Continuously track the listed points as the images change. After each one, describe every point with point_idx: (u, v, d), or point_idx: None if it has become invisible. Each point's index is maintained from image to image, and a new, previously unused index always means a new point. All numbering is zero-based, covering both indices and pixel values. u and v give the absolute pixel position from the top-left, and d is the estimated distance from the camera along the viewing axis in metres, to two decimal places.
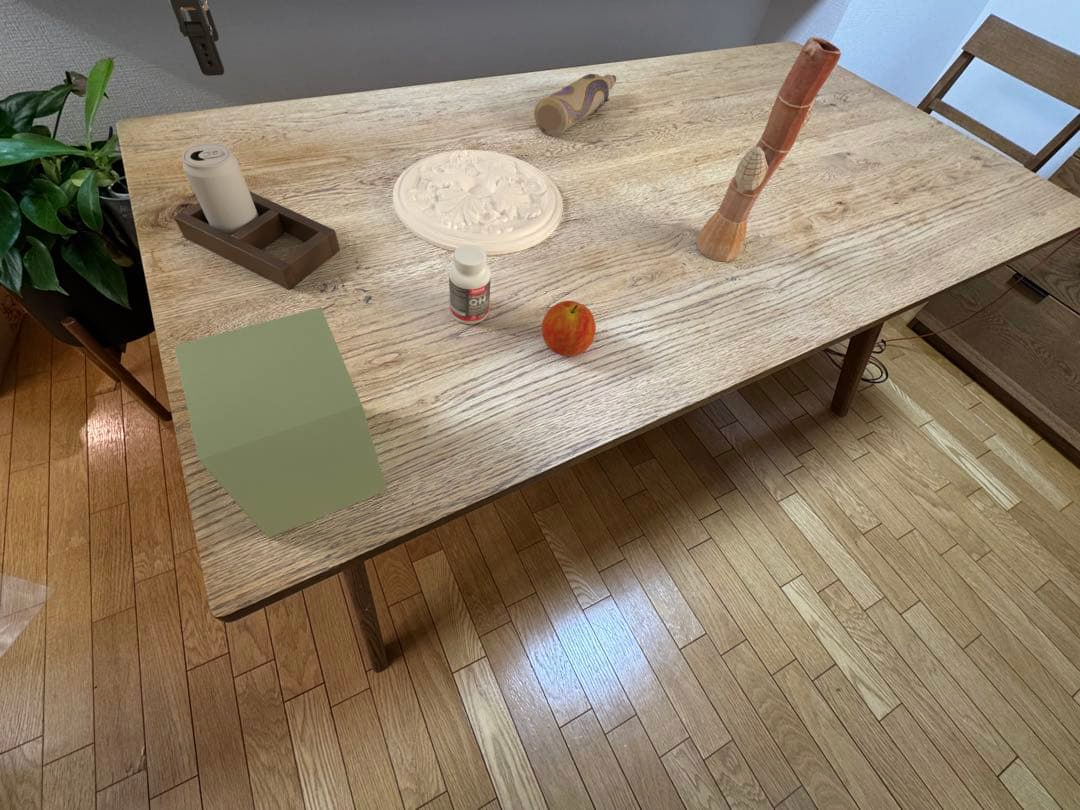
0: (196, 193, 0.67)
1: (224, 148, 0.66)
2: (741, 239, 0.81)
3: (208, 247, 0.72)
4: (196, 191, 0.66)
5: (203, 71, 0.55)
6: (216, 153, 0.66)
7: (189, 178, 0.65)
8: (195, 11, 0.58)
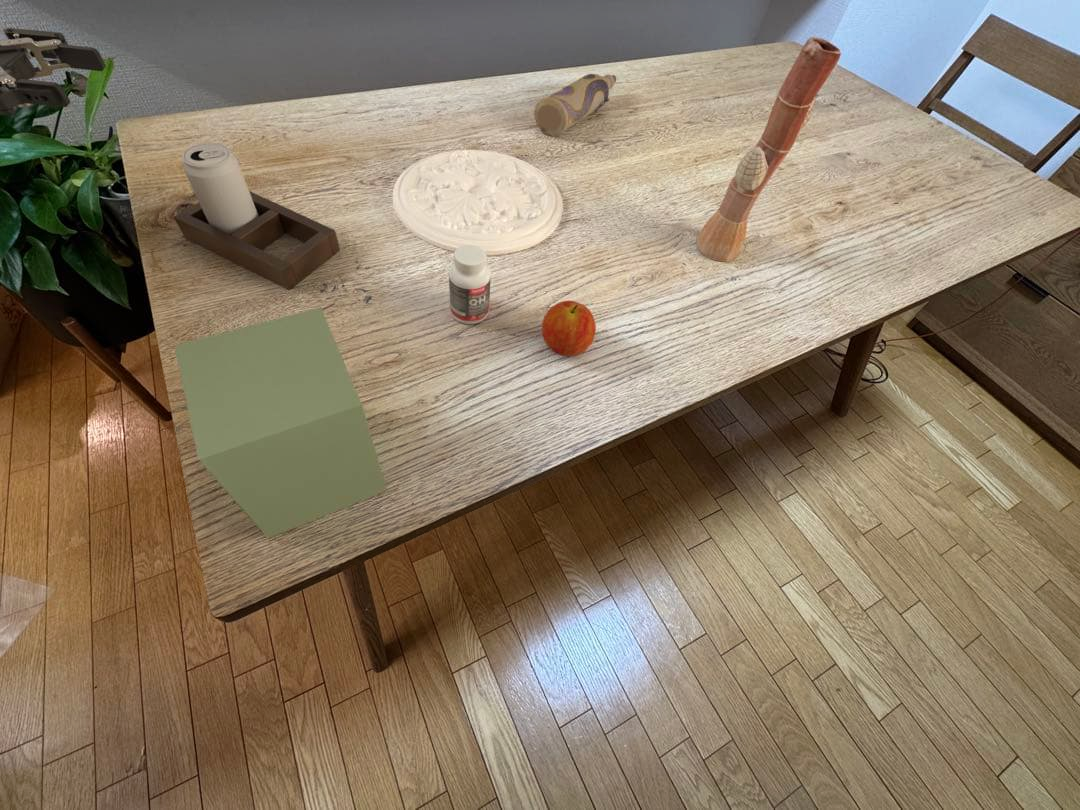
0: (196, 193, 0.67)
1: (224, 148, 0.66)
2: (741, 239, 0.81)
3: (208, 247, 0.72)
4: (196, 191, 0.66)
5: None
6: (216, 153, 0.66)
7: (189, 178, 0.65)
8: None
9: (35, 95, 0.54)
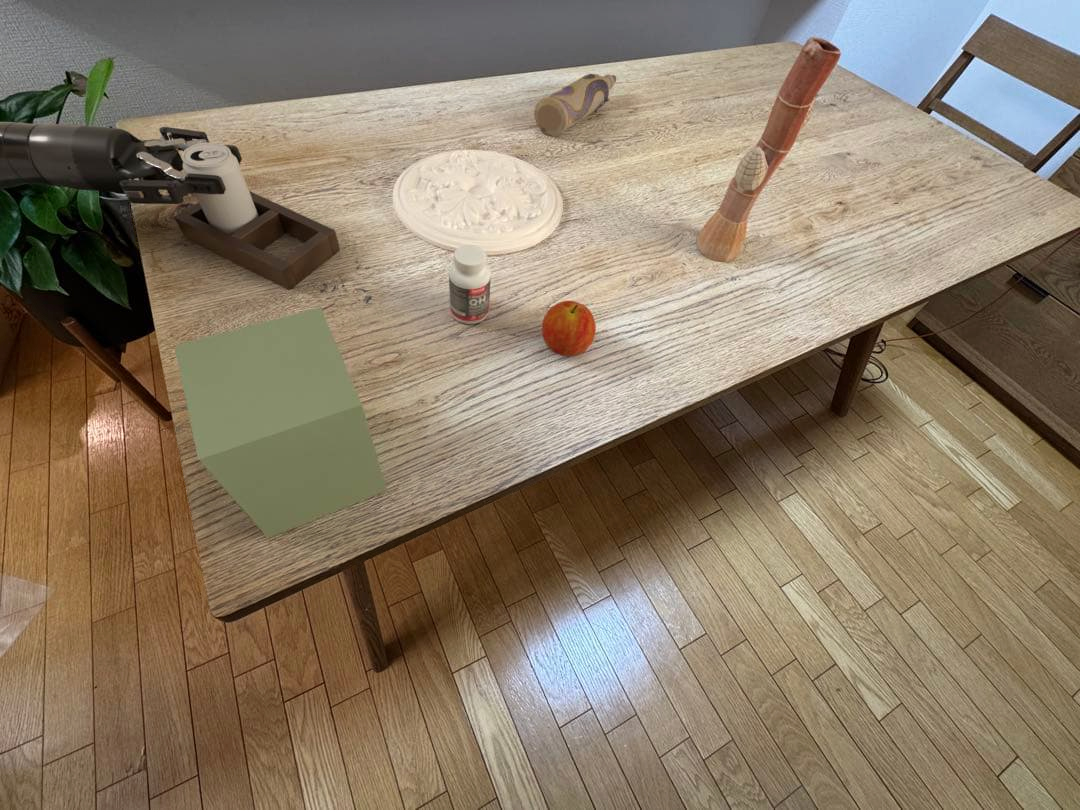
0: (196, 193, 0.67)
1: (224, 148, 0.66)
2: (741, 239, 0.81)
3: (208, 247, 0.72)
4: None
5: (234, 146, 0.68)
6: (216, 153, 0.66)
7: None
8: None
9: (201, 186, 0.64)
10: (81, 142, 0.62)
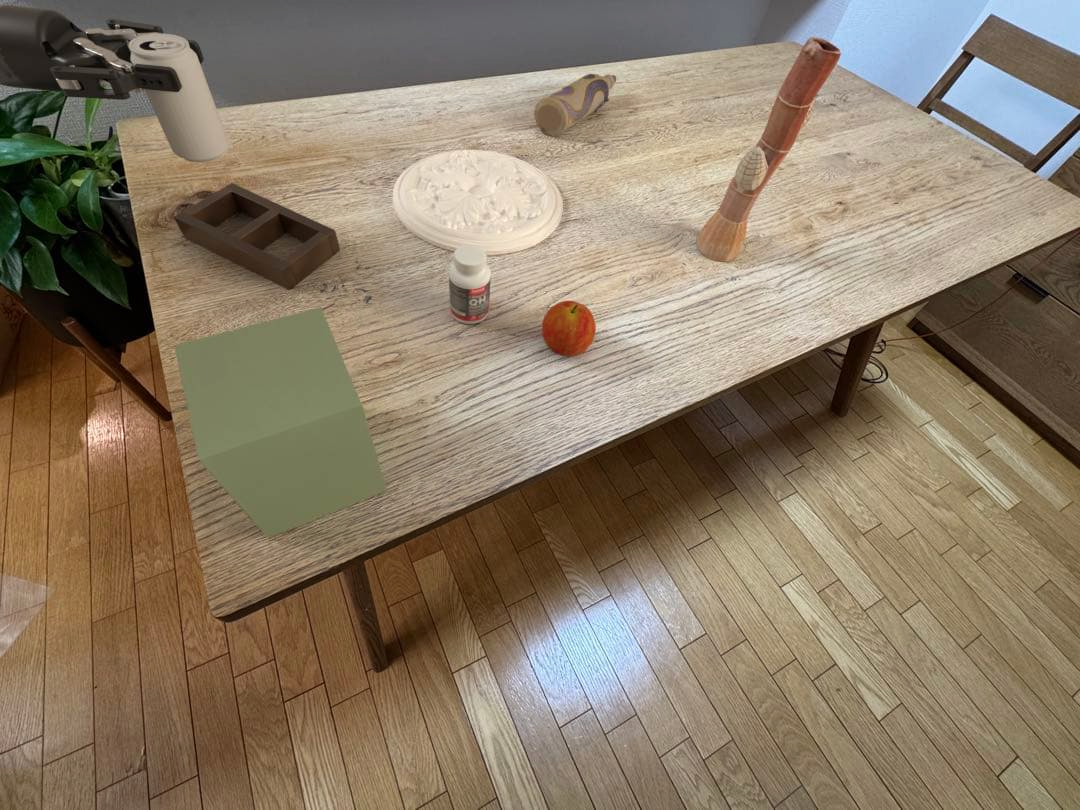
0: (148, 93, 0.57)
1: (181, 40, 0.56)
2: (741, 239, 0.81)
3: (208, 247, 0.72)
4: (148, 90, 0.56)
5: None
6: (171, 44, 0.56)
7: None
8: None
9: (151, 79, 0.54)
10: (5, 20, 0.52)
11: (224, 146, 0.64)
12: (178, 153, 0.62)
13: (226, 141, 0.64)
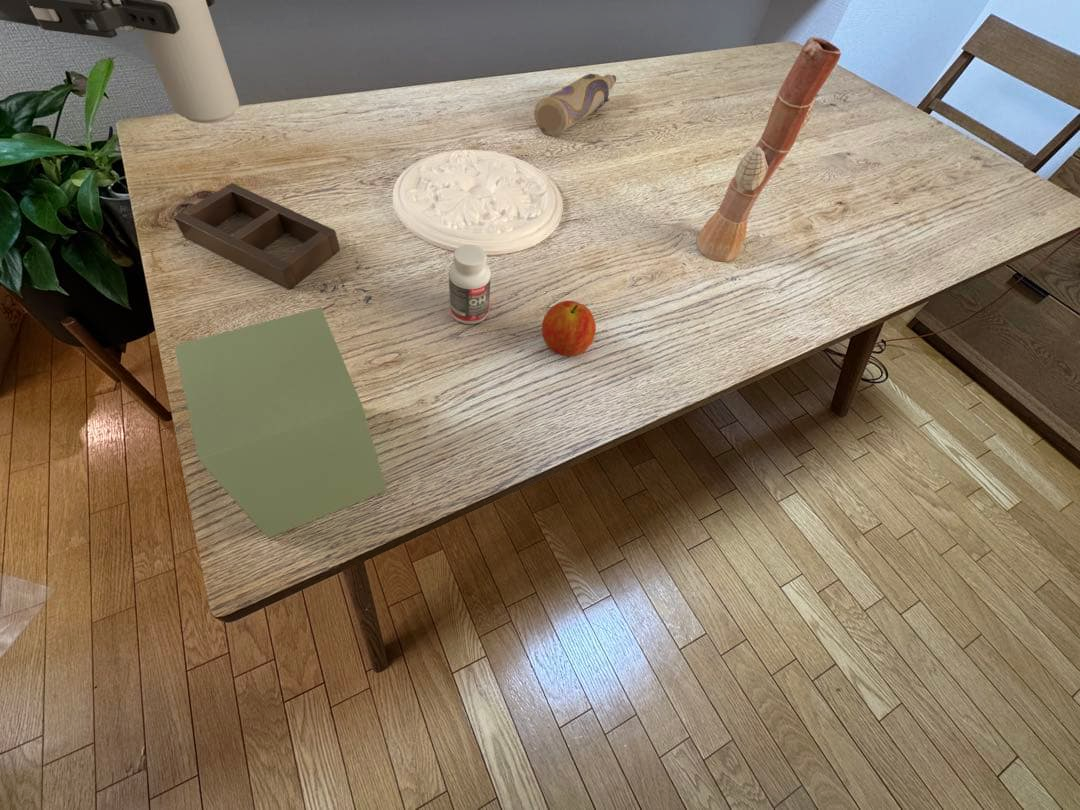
0: (142, 34, 0.48)
1: None
2: (741, 239, 0.81)
3: (208, 247, 0.72)
4: (142, 30, 0.48)
5: None
6: None
7: None
8: None
9: (141, 16, 0.45)
10: None
11: (232, 106, 0.55)
12: (177, 110, 0.53)
13: (235, 101, 0.55)
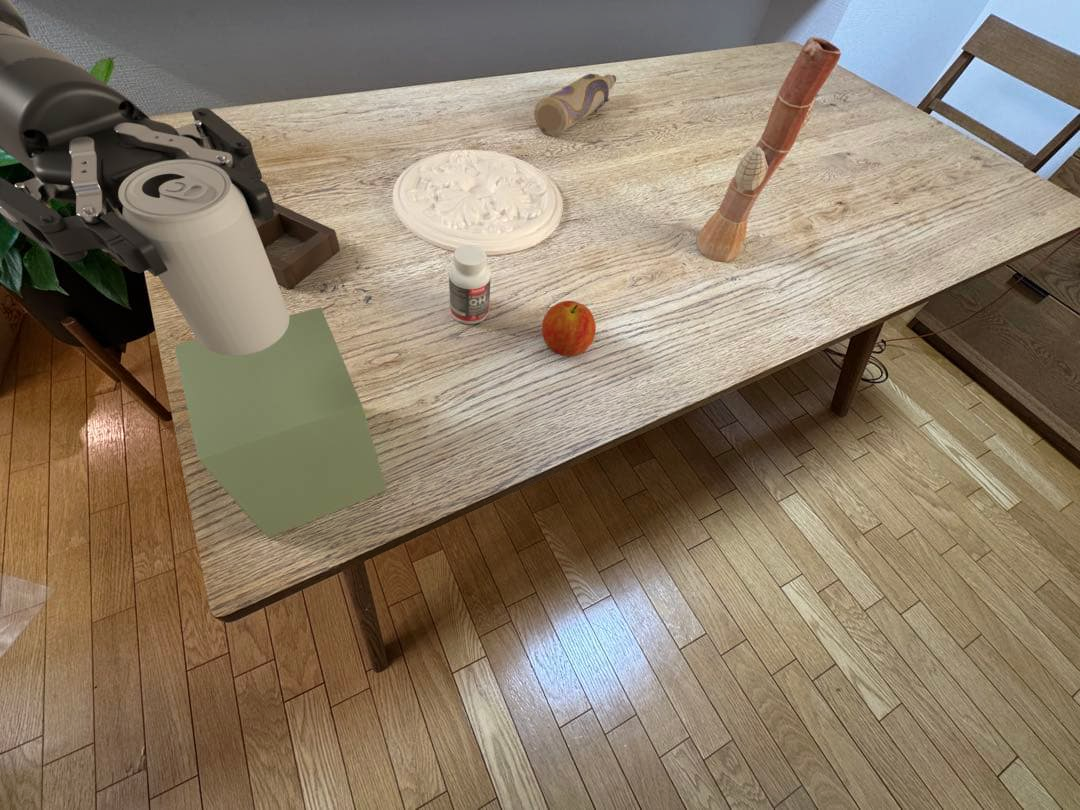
0: None
1: (222, 188, 0.30)
2: (741, 239, 0.81)
3: None
4: None
5: None
6: (197, 192, 0.29)
7: None
8: None
9: (111, 248, 0.28)
10: (3, 83, 0.31)
11: (261, 343, 0.37)
12: None
13: (271, 335, 0.37)
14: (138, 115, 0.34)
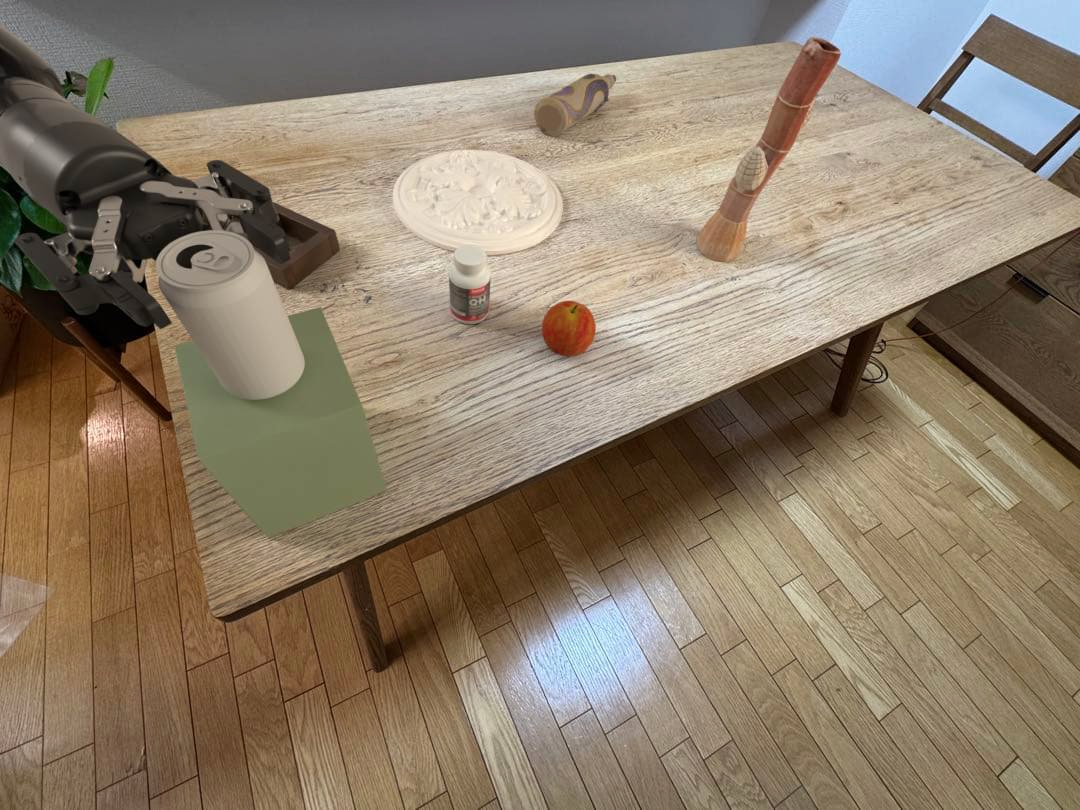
0: None
1: (246, 258, 0.33)
2: (741, 239, 0.81)
3: None
4: None
5: None
6: (224, 262, 0.33)
7: None
8: None
9: (120, 304, 0.31)
10: (41, 147, 0.33)
11: (279, 388, 0.40)
12: None
13: (288, 381, 0.40)
14: (161, 171, 0.37)
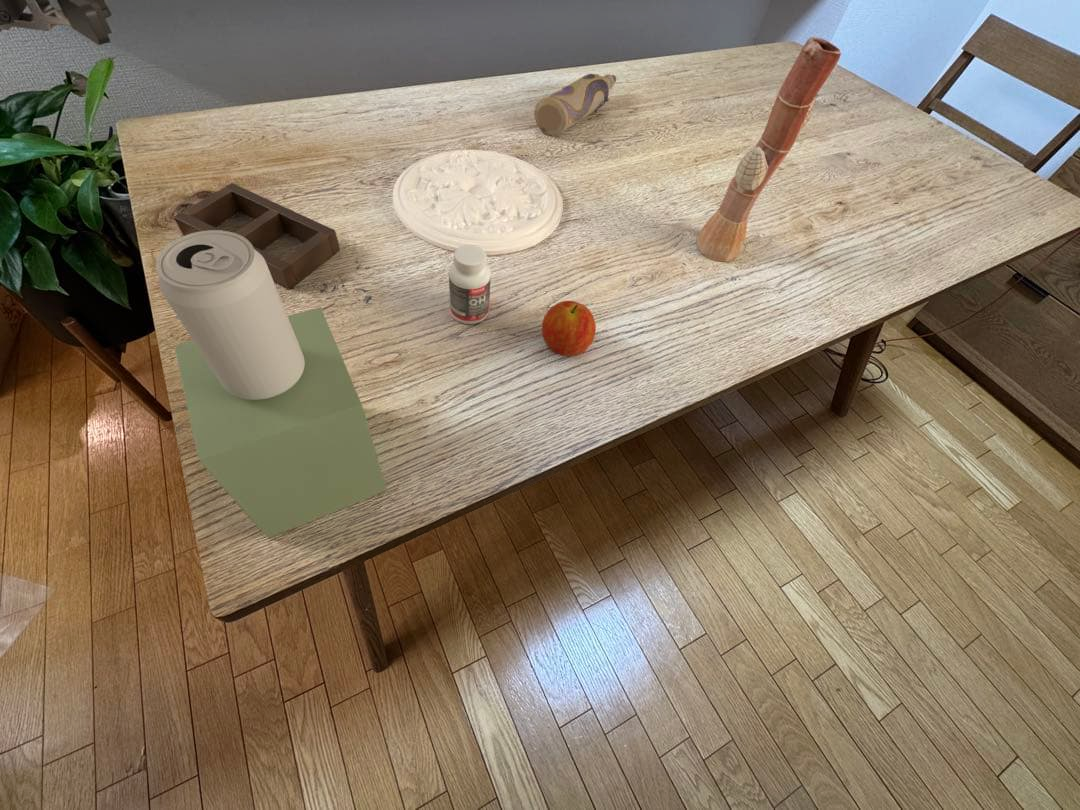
0: None
1: (246, 258, 0.33)
2: (741, 239, 0.81)
3: None
4: None
5: None
6: (224, 262, 0.33)
7: None
8: None
9: None
10: None
11: (279, 388, 0.40)
12: None
13: (288, 381, 0.40)
14: None
